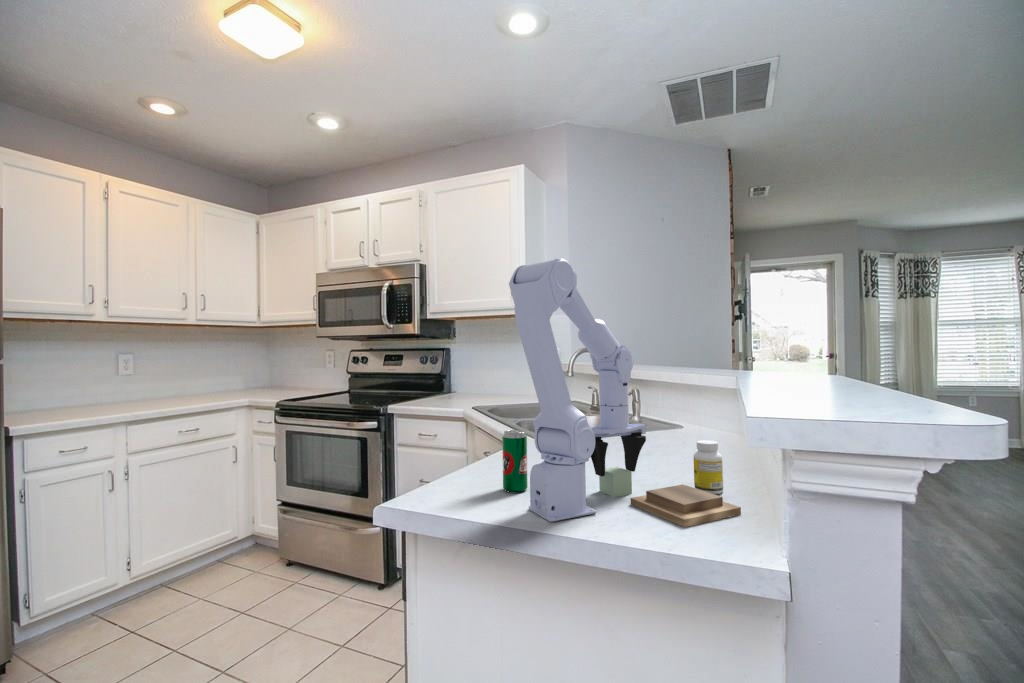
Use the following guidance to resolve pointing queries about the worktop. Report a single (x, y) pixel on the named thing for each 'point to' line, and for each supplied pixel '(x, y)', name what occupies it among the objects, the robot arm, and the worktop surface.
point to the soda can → (514, 460)
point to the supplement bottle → (708, 467)
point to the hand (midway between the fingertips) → (615, 472)
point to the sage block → (616, 482)
